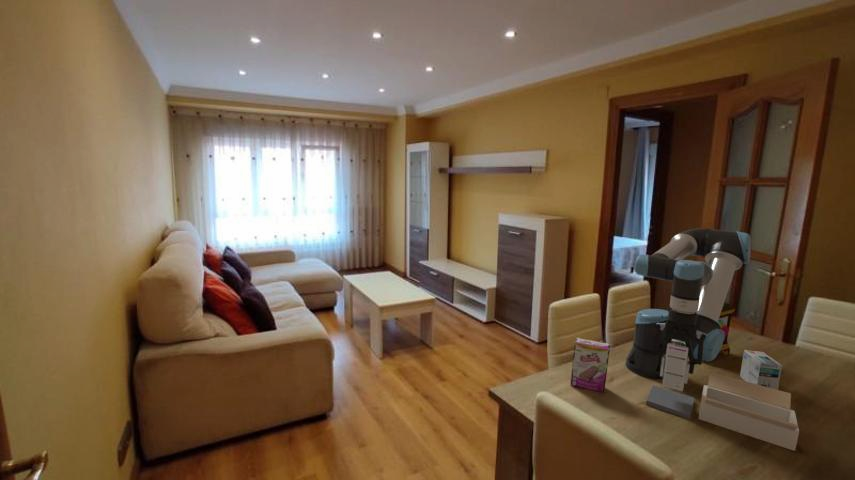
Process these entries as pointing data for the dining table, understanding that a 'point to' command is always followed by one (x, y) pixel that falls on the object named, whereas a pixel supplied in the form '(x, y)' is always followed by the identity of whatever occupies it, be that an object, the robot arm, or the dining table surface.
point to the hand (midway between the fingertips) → (673, 378)
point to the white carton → (750, 410)
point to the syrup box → (675, 365)
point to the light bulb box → (760, 369)
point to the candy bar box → (590, 364)
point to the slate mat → (670, 401)
